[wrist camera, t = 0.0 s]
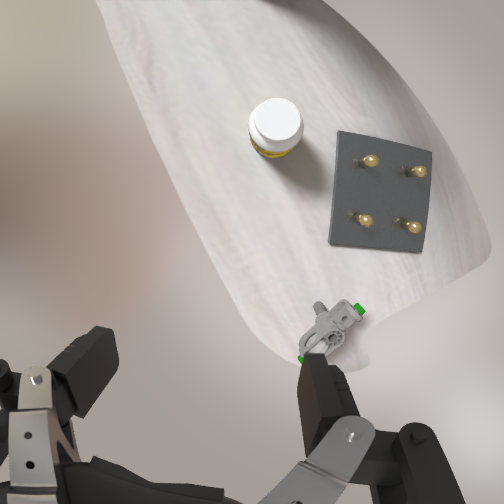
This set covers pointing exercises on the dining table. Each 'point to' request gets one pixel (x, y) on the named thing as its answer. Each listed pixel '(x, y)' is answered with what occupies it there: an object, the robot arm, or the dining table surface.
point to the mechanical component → (329, 328)
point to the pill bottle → (275, 127)
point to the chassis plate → (379, 193)
